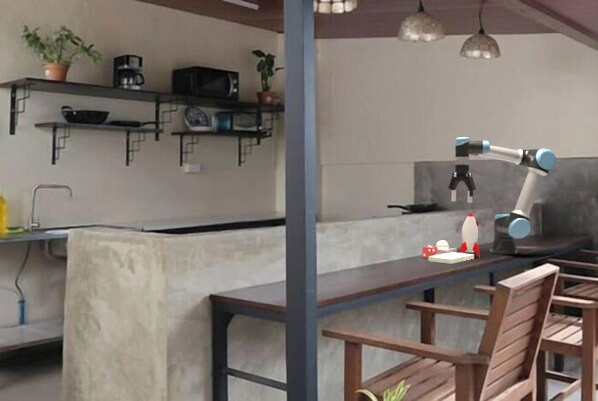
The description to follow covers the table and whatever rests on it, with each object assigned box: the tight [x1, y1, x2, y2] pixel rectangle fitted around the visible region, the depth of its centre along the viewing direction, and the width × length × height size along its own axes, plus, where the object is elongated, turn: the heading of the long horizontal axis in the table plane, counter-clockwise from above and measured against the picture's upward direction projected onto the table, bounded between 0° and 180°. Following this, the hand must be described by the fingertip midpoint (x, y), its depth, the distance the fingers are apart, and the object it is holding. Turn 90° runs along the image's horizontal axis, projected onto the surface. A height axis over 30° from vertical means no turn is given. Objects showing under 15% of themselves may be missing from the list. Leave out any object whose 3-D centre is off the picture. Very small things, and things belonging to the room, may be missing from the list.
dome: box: [435, 239, 450, 250], centre depth 367 cm, size 7×7×8 cm
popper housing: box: [437, 247, 458, 255], centre depth 367 cm, size 12×12×4 cm
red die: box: [421, 245, 437, 259], centre depth 356 cm, size 7×7×7 cm
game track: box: [428, 252, 475, 265], centre depth 348 cm, size 27×13×2 cm, turn 138°
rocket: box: [459, 212, 481, 259], centre depth 364 cm, size 11×11×25 cm
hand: (461, 201), depth 364 cm, fingers open, 13 cm apart
